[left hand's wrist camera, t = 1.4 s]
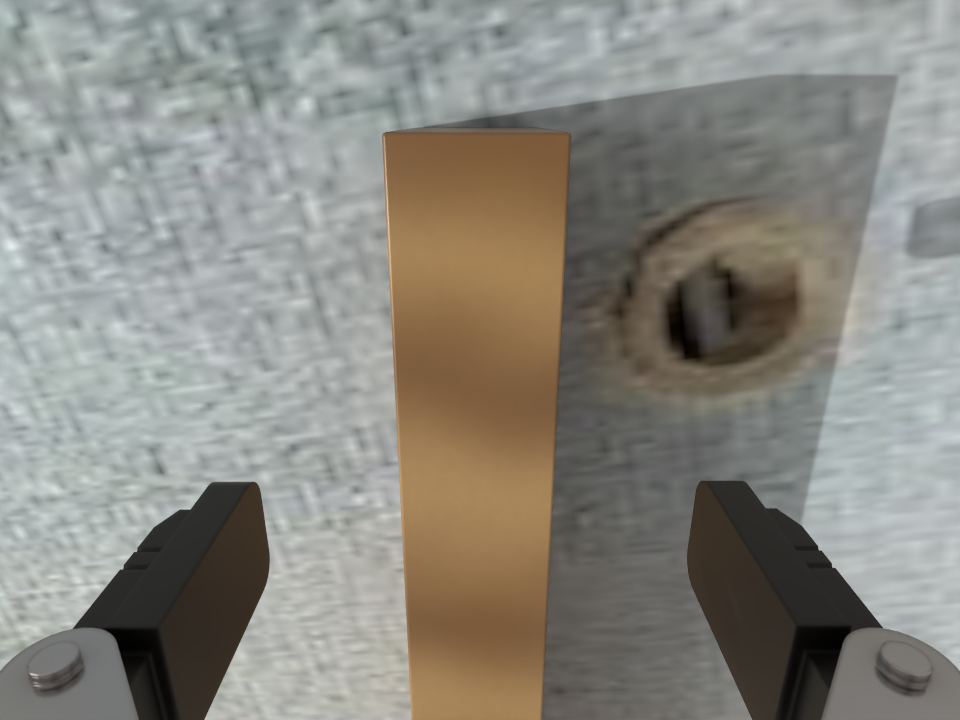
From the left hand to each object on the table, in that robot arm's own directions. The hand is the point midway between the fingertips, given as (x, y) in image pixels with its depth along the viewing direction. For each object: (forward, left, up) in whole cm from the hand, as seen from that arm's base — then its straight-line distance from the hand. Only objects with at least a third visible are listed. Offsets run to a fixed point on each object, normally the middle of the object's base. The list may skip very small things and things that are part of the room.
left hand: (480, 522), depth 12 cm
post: (+21, +4, -14) cm, 26 cm away
